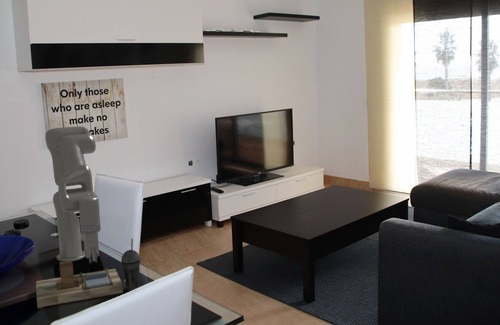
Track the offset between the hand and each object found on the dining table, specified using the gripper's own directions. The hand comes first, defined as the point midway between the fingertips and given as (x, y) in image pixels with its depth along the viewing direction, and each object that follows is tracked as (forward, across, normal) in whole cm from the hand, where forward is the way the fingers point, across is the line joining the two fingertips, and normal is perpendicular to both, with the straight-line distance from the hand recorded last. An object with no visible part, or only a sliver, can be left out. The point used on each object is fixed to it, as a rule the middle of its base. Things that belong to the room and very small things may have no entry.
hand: (93, 271), depth 207 cm
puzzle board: (+4, +8, -6) cm, 11 cm away
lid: (0, +11, 0) cm, 11 cm away
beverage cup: (+4, +15, +13) cm, 20 cm away
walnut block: (+2, +8, -10) cm, 13 cm away
